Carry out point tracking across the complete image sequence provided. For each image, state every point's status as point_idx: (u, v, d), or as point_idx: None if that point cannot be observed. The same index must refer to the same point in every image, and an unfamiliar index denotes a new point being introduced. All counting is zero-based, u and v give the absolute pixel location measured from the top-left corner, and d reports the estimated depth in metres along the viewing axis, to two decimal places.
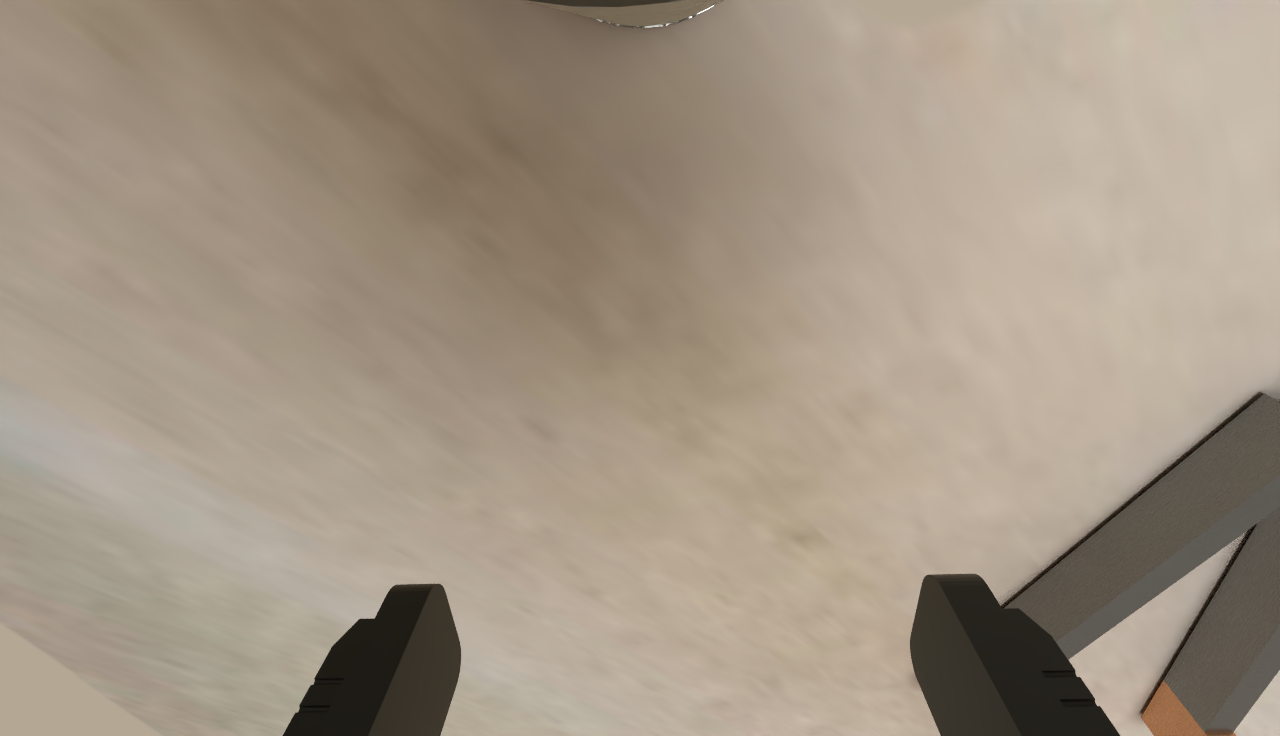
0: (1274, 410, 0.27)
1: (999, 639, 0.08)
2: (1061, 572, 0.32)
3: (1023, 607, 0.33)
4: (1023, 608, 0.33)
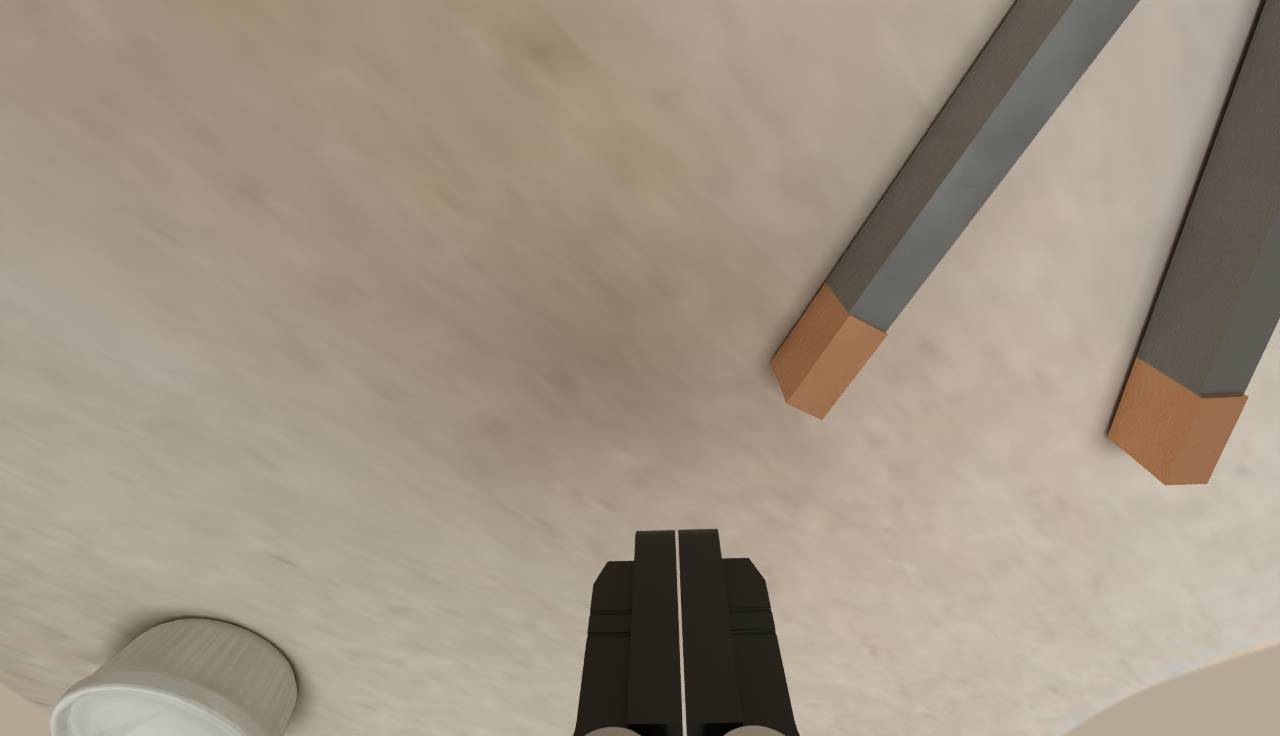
0: None
1: (706, 580, 0.09)
2: (958, 97, 0.20)
3: (904, 179, 0.21)
4: (904, 180, 0.21)
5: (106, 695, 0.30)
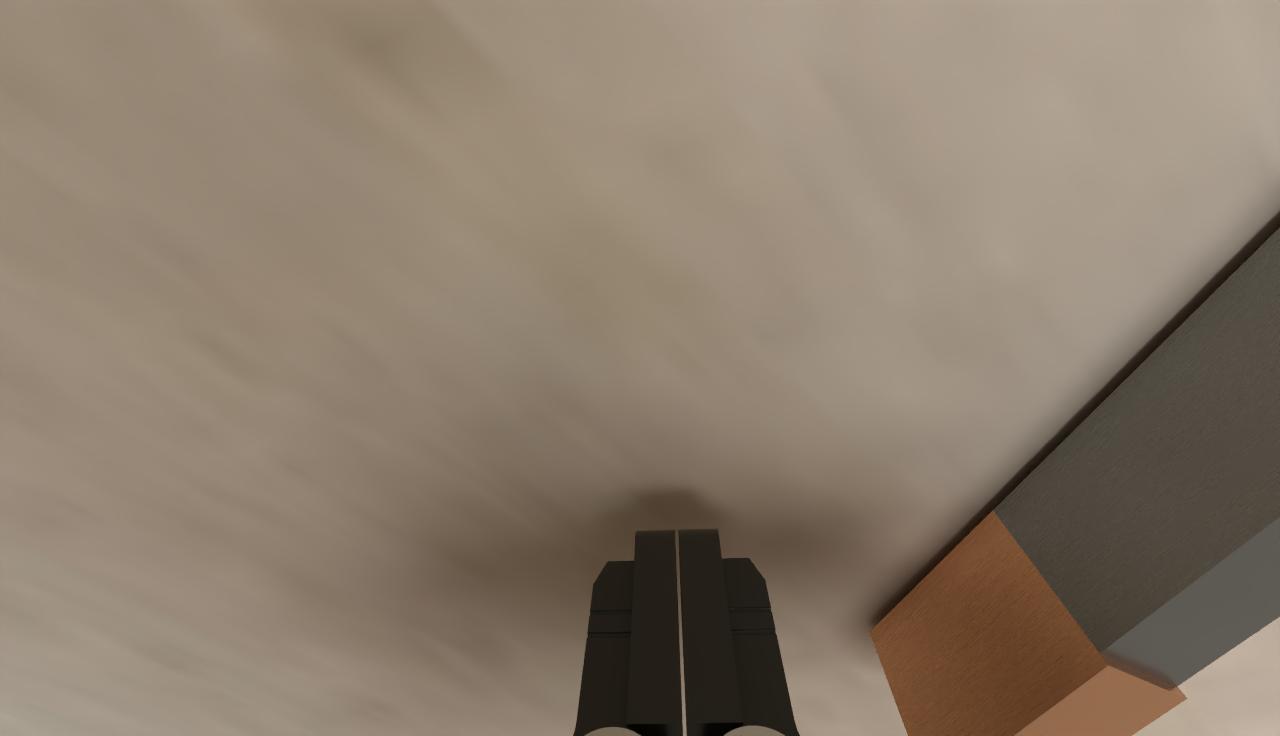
0: None
1: (706, 580, 0.09)
2: None
3: (1220, 338, 0.09)
4: (1221, 340, 0.09)
5: None
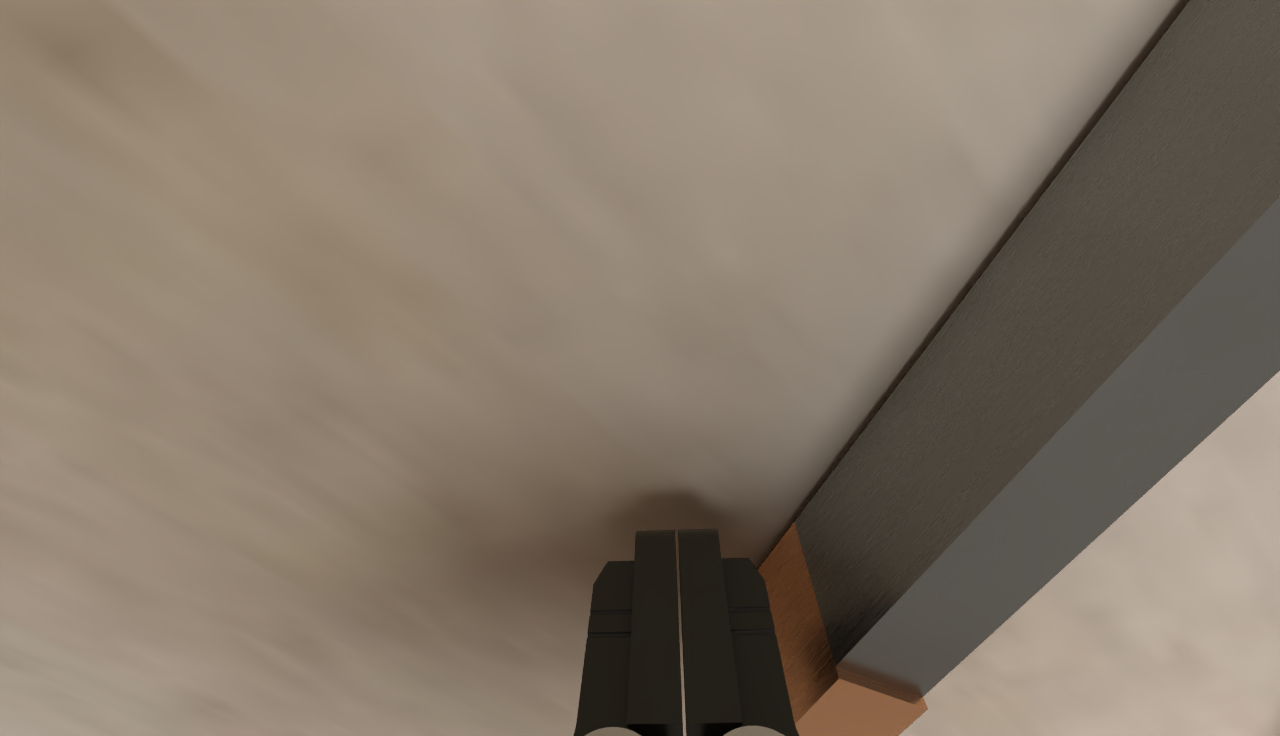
0: None
1: (706, 580, 0.09)
2: (1085, 171, 0.08)
3: (955, 351, 0.09)
4: (955, 354, 0.09)
5: None
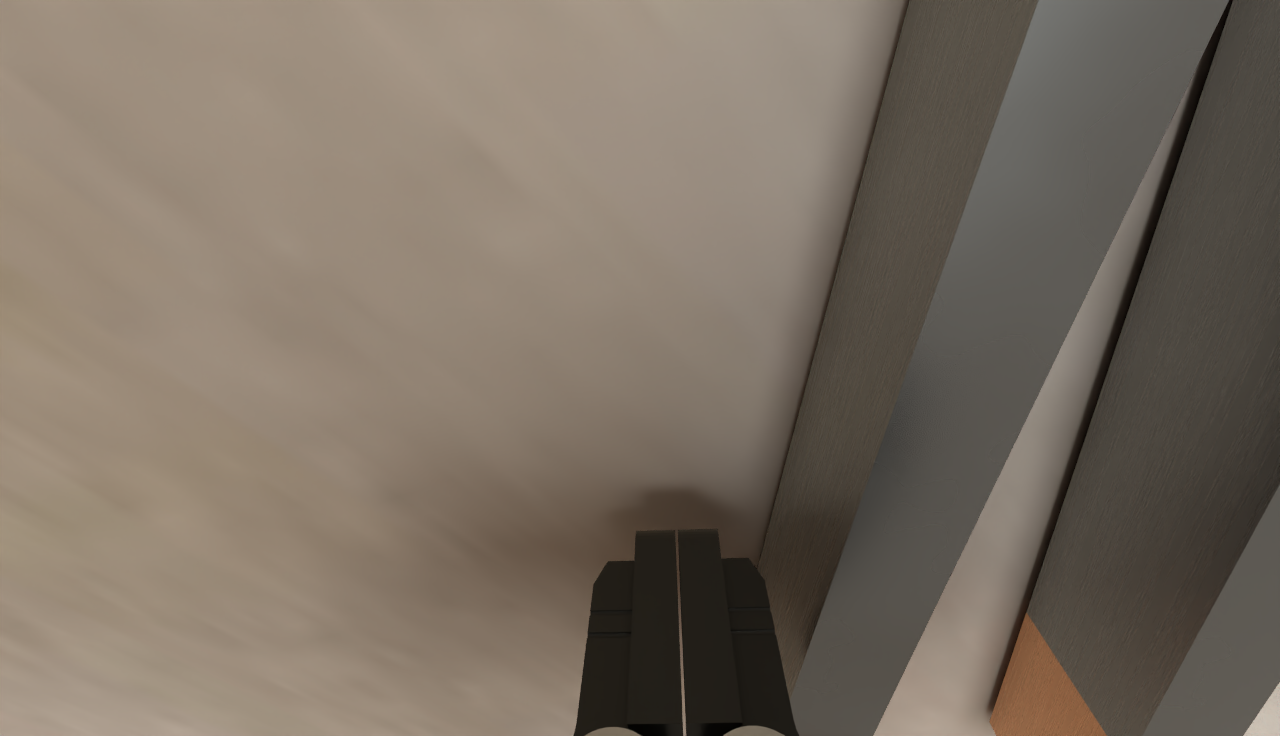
0: None
1: (706, 580, 0.09)
2: (843, 288, 0.09)
3: (802, 449, 0.10)
4: (802, 452, 0.10)
5: None
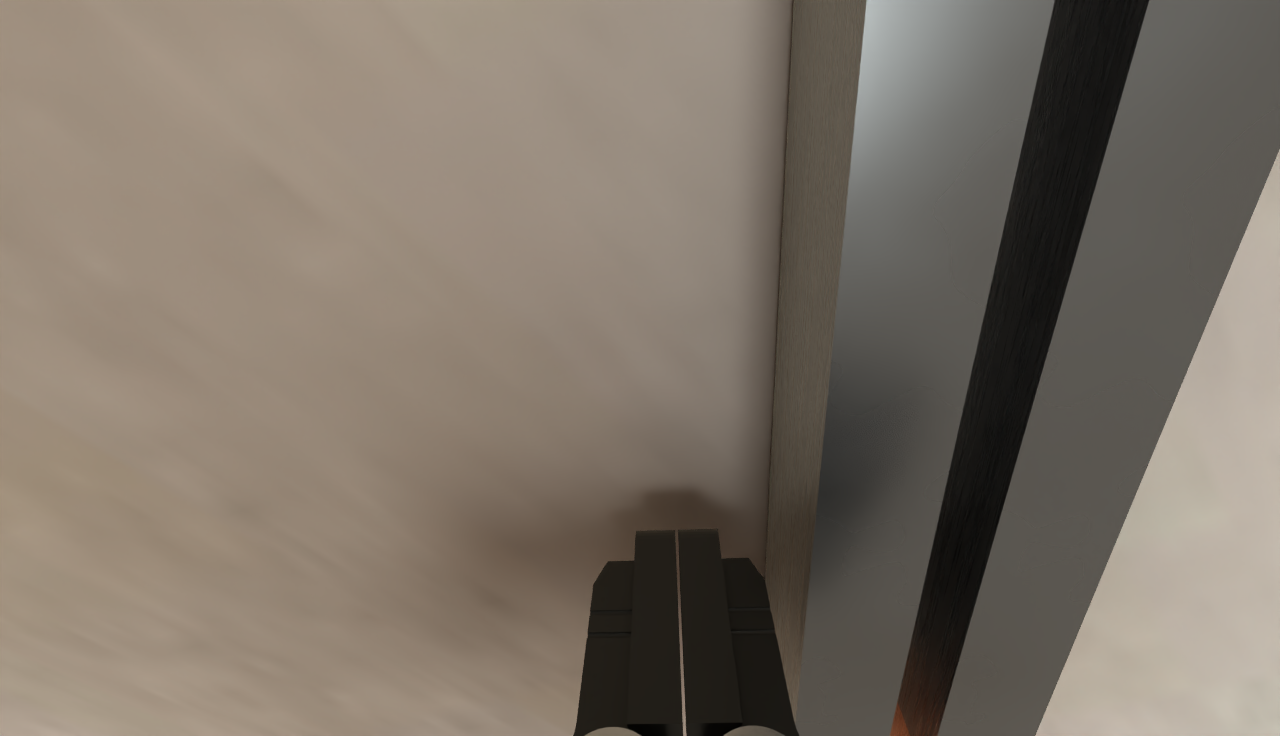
0: None
1: (706, 580, 0.09)
2: (782, 337, 0.10)
3: (776, 488, 0.11)
4: (776, 491, 0.11)
5: None
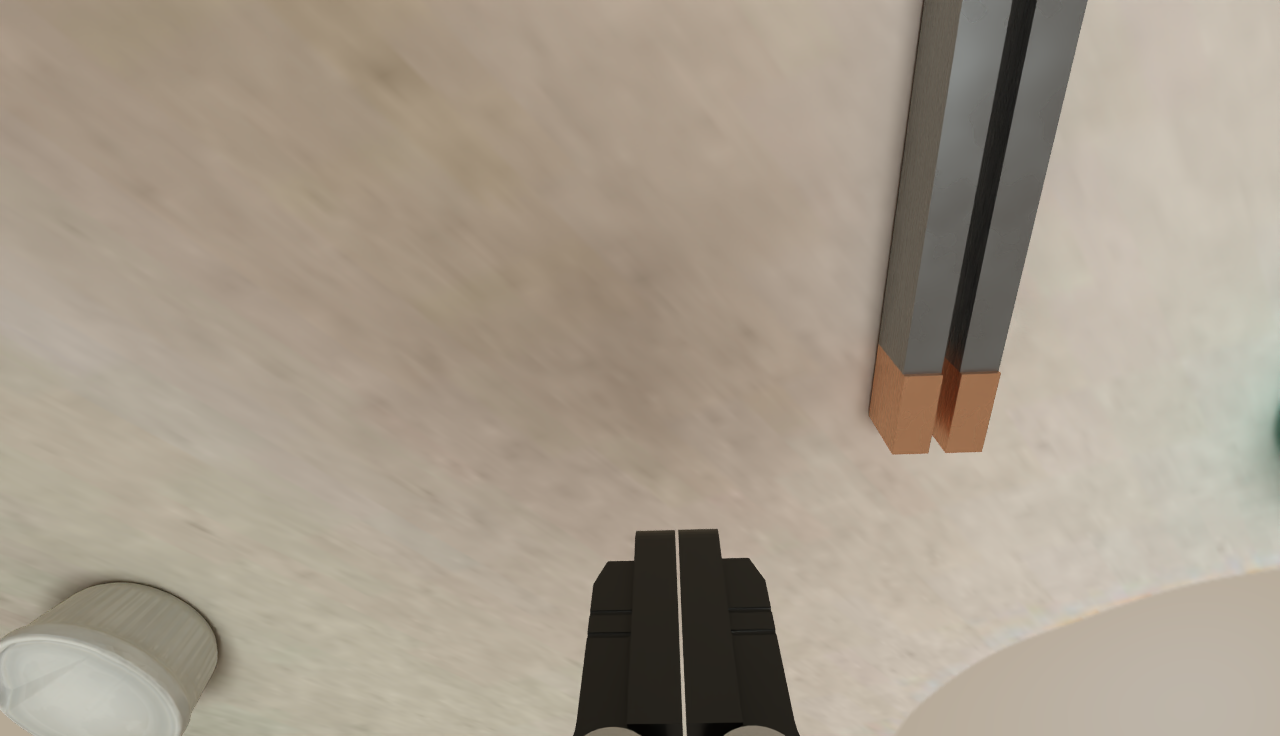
0: None
1: (706, 580, 0.09)
2: (904, 182, 0.25)
3: (896, 254, 0.26)
4: (896, 255, 0.26)
5: (31, 647, 0.33)
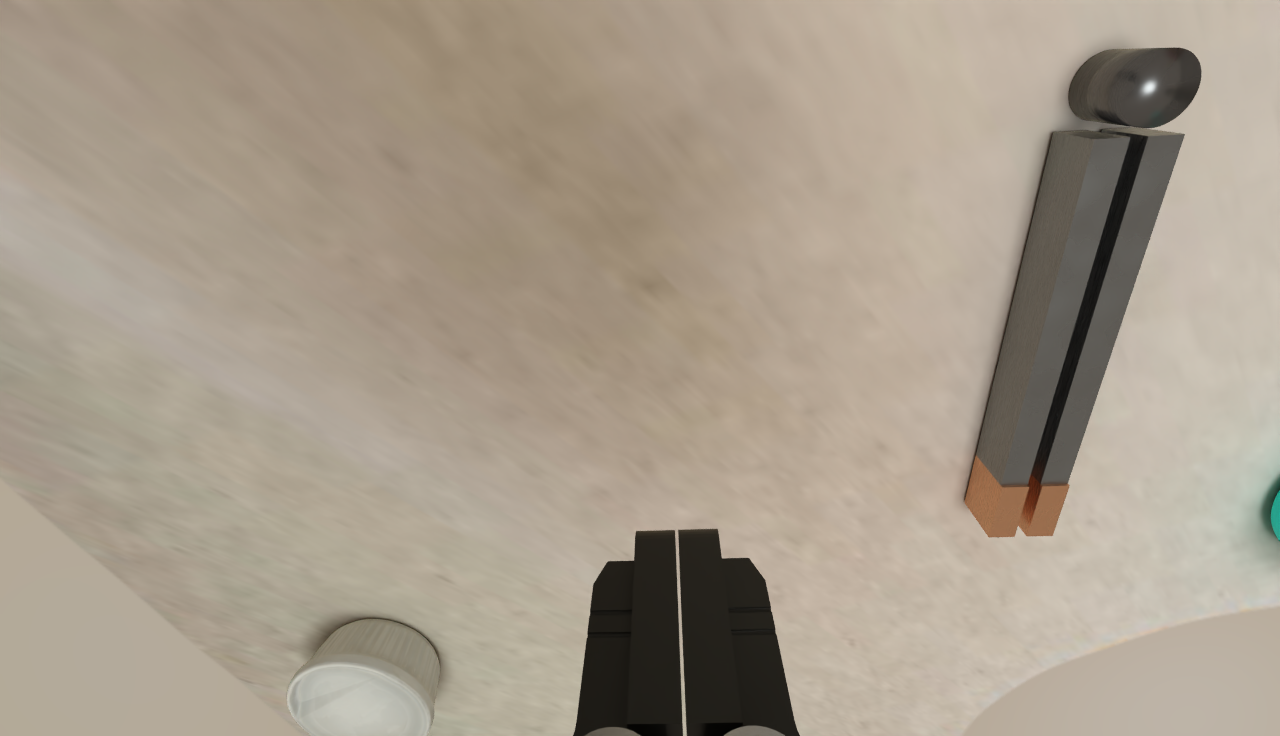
0: (1062, 142, 0.30)
1: (706, 580, 0.09)
2: (1004, 356, 0.36)
3: (995, 400, 0.37)
4: (996, 401, 0.37)
5: (329, 671, 0.45)
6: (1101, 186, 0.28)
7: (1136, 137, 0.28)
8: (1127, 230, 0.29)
